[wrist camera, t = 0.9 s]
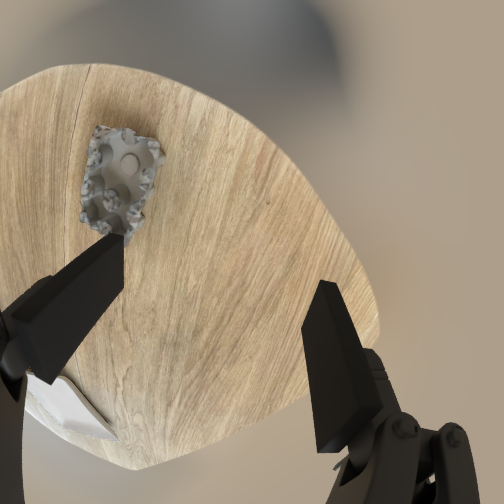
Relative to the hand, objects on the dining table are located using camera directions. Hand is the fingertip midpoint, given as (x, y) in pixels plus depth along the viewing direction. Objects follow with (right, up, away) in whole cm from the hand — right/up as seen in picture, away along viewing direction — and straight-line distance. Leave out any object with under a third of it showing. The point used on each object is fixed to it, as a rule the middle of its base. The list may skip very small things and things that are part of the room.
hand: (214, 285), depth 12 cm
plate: (-39, -31, +32) cm, 60 cm away
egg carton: (-11, +9, +14) cm, 20 cm away
